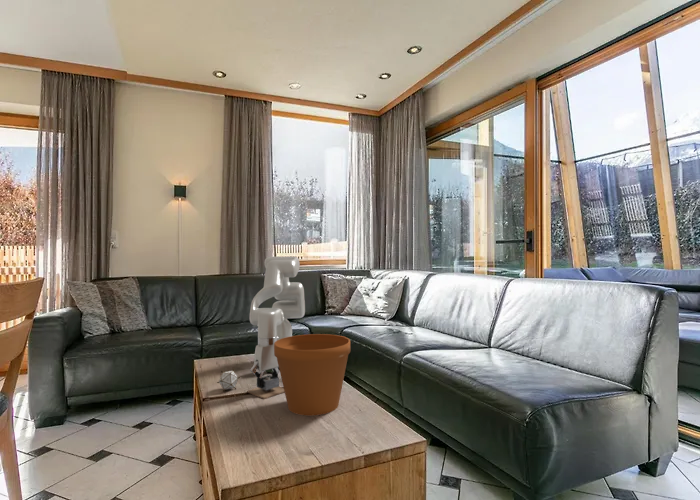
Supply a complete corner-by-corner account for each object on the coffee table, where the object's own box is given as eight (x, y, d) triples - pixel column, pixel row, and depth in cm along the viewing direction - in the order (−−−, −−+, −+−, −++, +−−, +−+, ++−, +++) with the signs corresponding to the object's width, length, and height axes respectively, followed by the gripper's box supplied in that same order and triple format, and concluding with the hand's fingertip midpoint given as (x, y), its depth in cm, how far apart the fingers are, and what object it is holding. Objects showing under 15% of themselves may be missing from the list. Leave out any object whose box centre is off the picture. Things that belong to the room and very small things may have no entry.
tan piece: (271, 385, 169) (271, 371, 169) (288, 391, 160) (288, 377, 161) (247, 392, 160) (246, 378, 160) (264, 399, 152) (264, 384, 152)
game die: (223, 399, 163) (208, 380, 163) (237, 386, 170) (223, 368, 170) (234, 392, 158) (219, 373, 158) (248, 379, 165) (233, 360, 165)
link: (269, 383, 165) (269, 374, 165) (279, 386, 160) (278, 377, 161) (256, 387, 160) (256, 378, 160) (266, 390, 156) (266, 381, 156)
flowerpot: (268, 398, 152) (268, 337, 153) (336, 388, 162) (335, 331, 163) (283, 427, 126) (282, 353, 127) (363, 413, 136) (362, 345, 137)
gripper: (278, 336, 170) (279, 378, 169) (243, 343, 157) (244, 388, 156) (289, 338, 164) (290, 381, 164) (254, 346, 152) (255, 392, 151)
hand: (267, 384), depth 160 cm, fingers closed on link, 6 cm apart
